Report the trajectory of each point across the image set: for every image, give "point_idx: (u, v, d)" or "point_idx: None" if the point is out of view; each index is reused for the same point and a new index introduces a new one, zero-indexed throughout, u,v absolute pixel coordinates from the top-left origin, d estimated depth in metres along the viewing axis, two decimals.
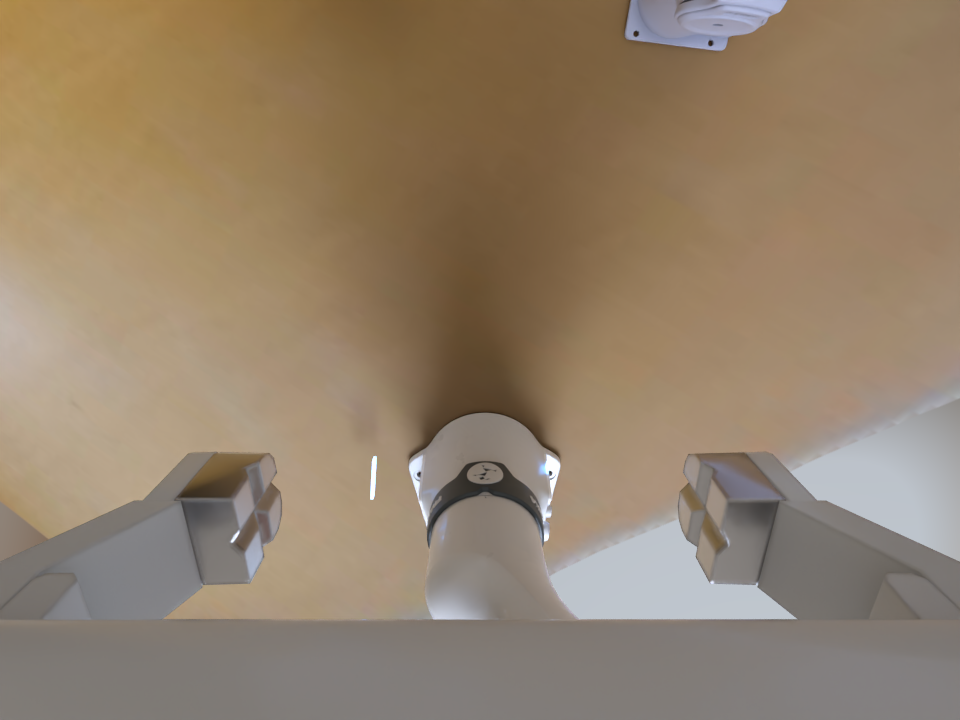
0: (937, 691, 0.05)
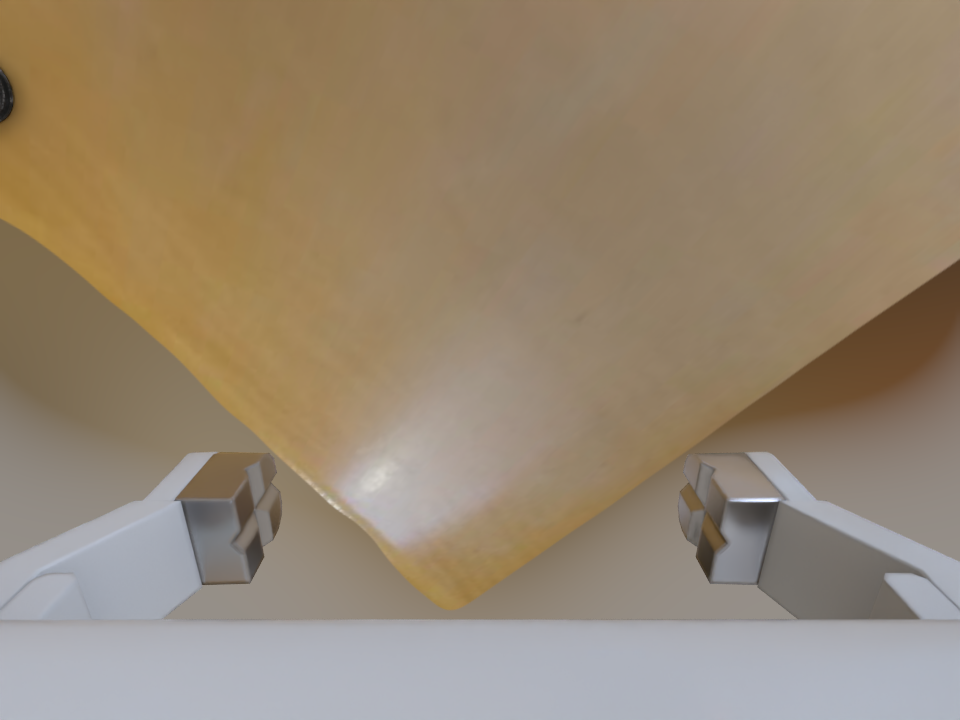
0: (937, 691, 0.05)
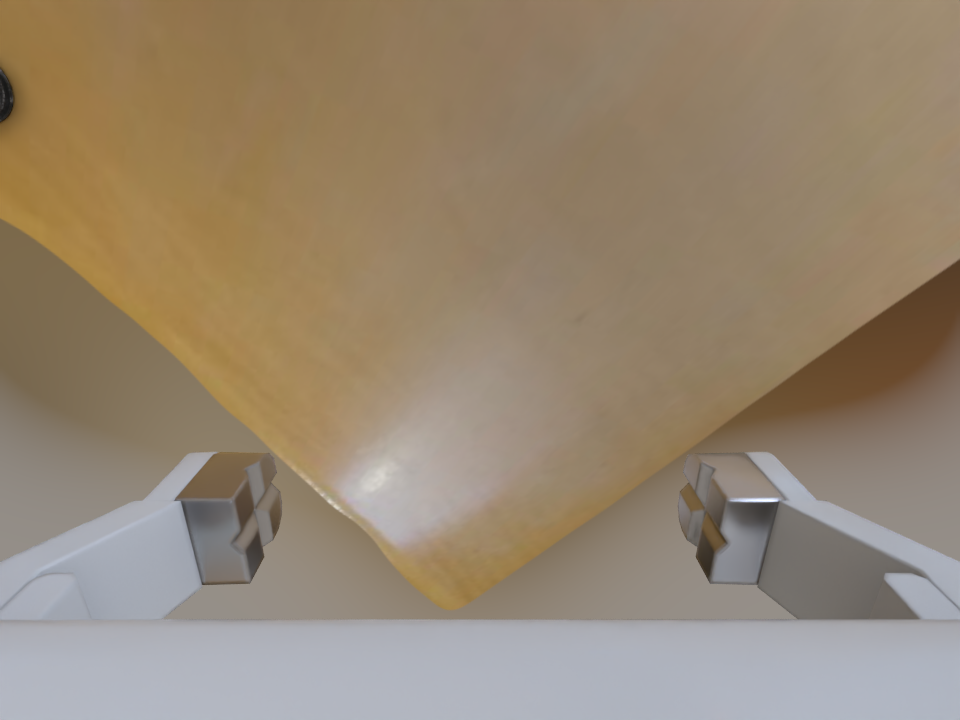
0: (937, 691, 0.05)
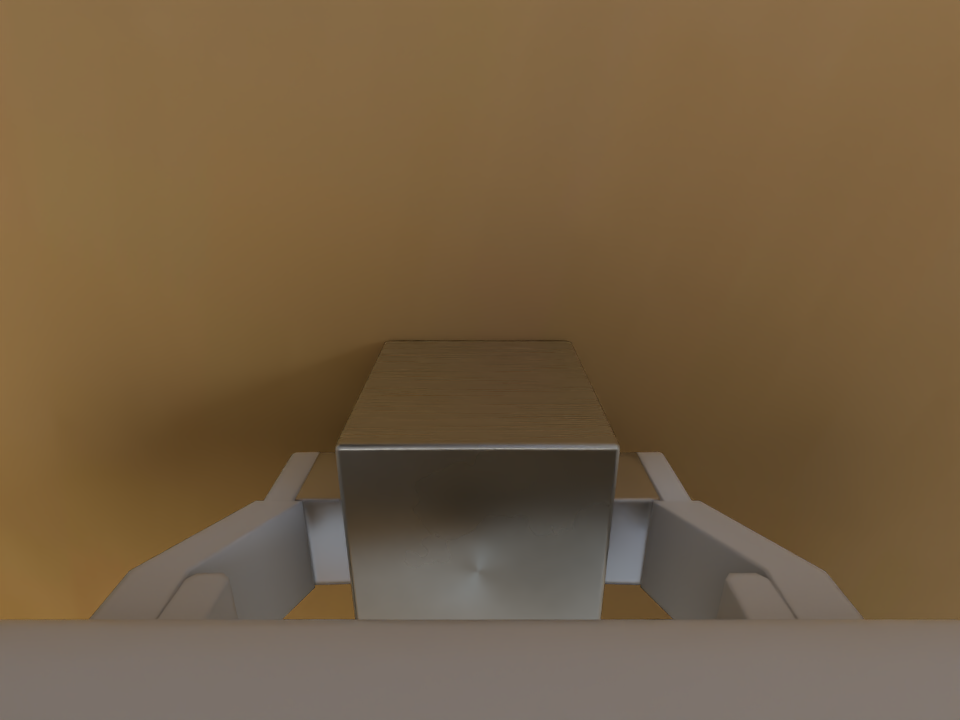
0: (937, 691, 0.05)
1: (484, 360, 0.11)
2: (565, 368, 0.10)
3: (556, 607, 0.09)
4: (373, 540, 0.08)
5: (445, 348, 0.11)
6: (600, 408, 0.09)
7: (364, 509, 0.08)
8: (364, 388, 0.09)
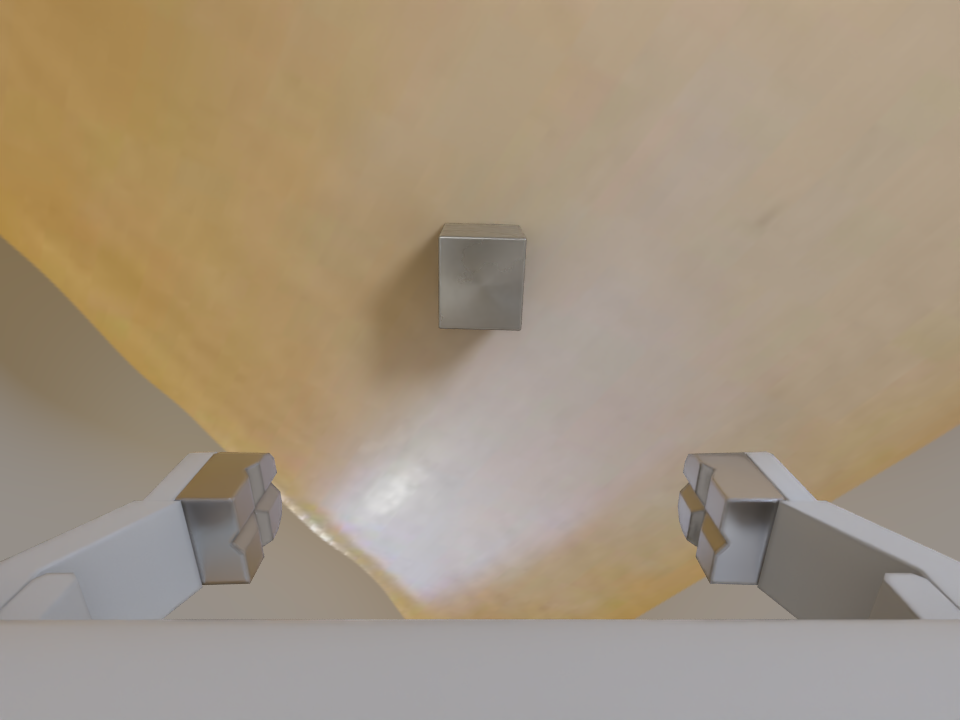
0: (937, 691, 0.05)
1: (484, 227, 0.28)
2: (514, 229, 0.27)
3: (507, 301, 0.26)
4: (447, 271, 0.25)
5: (469, 224, 0.28)
6: (523, 234, 0.26)
7: (446, 259, 0.25)
8: (442, 229, 0.26)
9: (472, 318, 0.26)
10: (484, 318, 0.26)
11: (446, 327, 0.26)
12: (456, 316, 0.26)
